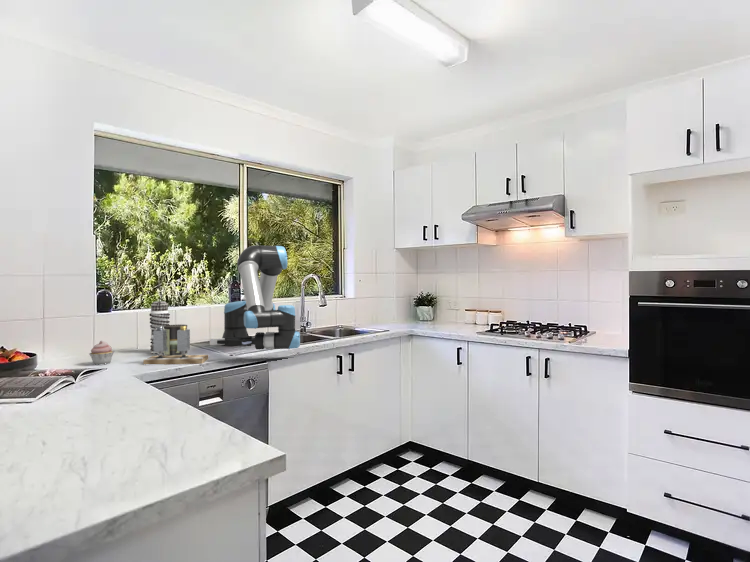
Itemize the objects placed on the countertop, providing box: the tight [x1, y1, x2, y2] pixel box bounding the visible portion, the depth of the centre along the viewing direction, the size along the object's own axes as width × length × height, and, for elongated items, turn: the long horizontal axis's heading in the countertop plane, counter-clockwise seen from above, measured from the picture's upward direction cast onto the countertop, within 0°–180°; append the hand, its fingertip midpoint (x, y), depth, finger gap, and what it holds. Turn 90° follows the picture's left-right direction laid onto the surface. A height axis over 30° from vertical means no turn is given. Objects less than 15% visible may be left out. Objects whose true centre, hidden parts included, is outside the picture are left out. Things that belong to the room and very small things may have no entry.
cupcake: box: [88, 340, 115, 365], centre depth 192 cm, size 9×9×10 cm
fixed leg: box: [153, 326, 167, 358], centre depth 194 cm, size 4×4×14 cm
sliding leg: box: [177, 326, 191, 357], centre depth 195 cm, size 4×4×13 cm
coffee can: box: [163, 324, 188, 356], centre depth 212 cm, size 10×10×14 cm
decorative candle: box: [148, 300, 171, 354], centre depth 220 cm, size 9×9×25 cm
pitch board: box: [142, 354, 209, 365], centre depth 195 cm, size 24×10×2 cm, turn 96°
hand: (210, 341), depth 196 cm, fingers closed
